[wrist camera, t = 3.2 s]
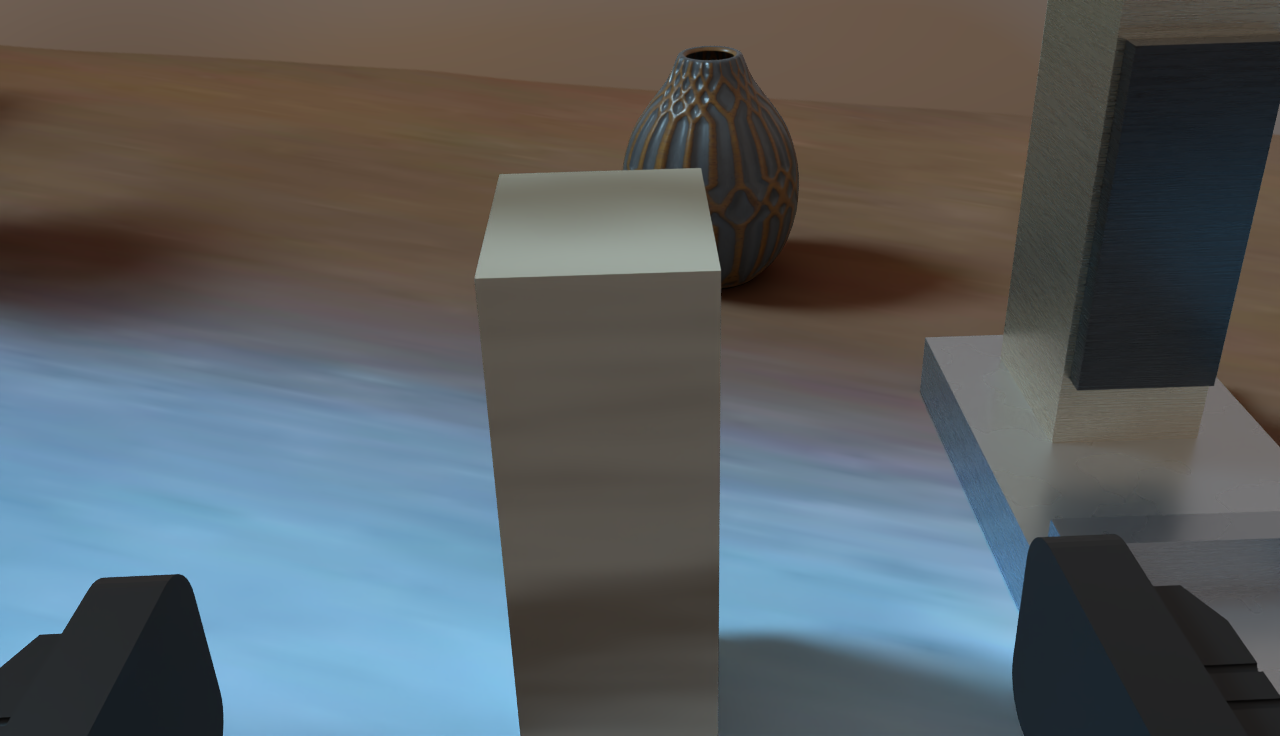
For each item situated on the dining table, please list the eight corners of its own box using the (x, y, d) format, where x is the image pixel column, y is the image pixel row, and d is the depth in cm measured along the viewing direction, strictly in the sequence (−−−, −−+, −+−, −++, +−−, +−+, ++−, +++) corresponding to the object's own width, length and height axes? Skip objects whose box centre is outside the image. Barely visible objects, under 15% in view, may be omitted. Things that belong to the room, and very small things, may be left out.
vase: (826, 258, 50) (837, 44, 45) (738, 321, 45) (741, 88, 41) (686, 225, 53) (684, 23, 49) (590, 280, 48) (579, 61, 44)
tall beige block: (717, 794, 25) (720, 271, 20) (526, 801, 25) (474, 278, 20) (700, 618, 30) (698, 158, 24) (540, 623, 30) (501, 164, 24)
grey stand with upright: (1678, 1016, 21) (2153, 260, 14) (1211, 1033, 20) (1456, 283, 14) (1161, 383, 40) (1253, -61, 33) (919, 391, 40) (963, -52, 33)
